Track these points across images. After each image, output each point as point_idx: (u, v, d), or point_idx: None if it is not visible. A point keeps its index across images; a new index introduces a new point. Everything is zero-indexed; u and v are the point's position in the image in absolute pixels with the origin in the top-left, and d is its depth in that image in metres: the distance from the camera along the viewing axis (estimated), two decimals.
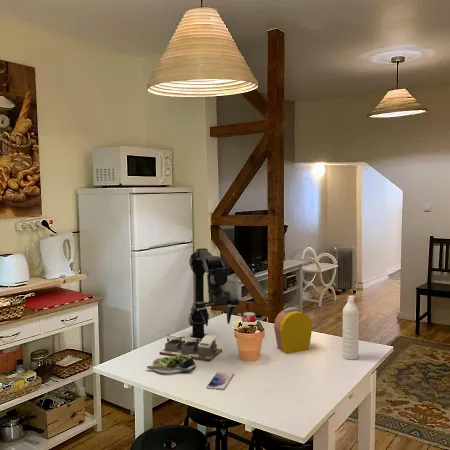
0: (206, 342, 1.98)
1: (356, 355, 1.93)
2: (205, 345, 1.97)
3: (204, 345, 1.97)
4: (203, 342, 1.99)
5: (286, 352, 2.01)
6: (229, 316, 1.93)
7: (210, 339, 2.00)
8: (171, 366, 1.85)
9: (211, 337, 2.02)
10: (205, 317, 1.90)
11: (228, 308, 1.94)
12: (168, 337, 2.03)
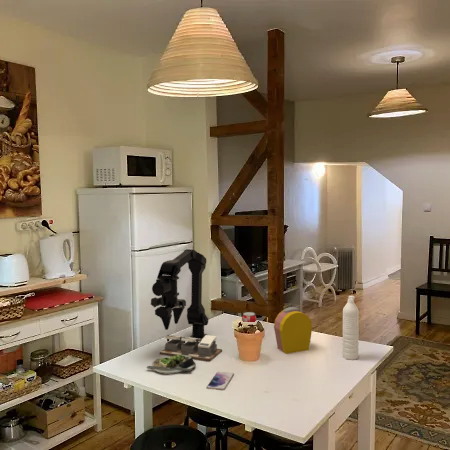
0: (206, 342, 1.98)
1: (356, 355, 1.93)
2: (205, 345, 1.97)
3: (204, 345, 1.97)
4: (203, 342, 1.99)
5: (286, 352, 2.01)
6: None
7: (210, 339, 2.00)
8: (171, 366, 1.85)
9: (211, 337, 2.02)
10: None
11: None
12: (168, 337, 2.03)
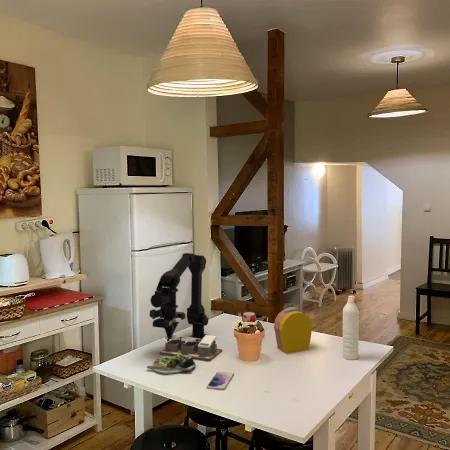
0: (206, 342, 1.98)
1: (356, 355, 1.93)
2: (205, 345, 1.97)
3: (204, 345, 1.97)
4: (203, 342, 1.99)
5: (286, 352, 2.01)
6: None
7: (210, 339, 2.00)
8: (171, 366, 1.85)
9: (211, 337, 2.02)
10: None
11: None
12: None
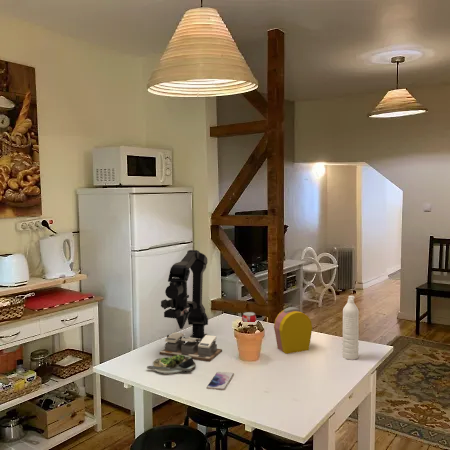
0: (206, 342, 1.98)
1: (356, 355, 1.93)
2: (205, 345, 1.97)
3: (204, 345, 1.97)
4: (203, 342, 1.99)
5: (286, 352, 2.01)
6: None
7: (210, 339, 2.00)
8: (171, 366, 1.85)
9: (211, 337, 2.02)
10: None
11: None
12: (168, 340, 2.03)
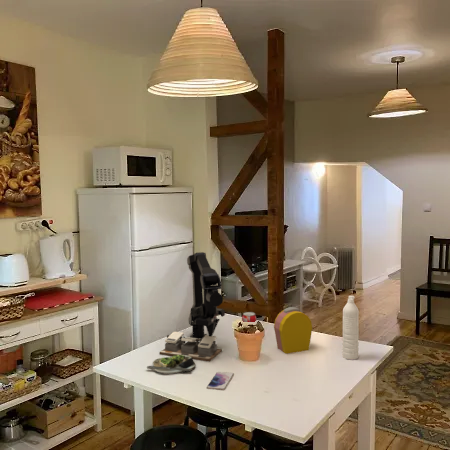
0: (206, 342, 1.98)
1: (356, 355, 1.93)
2: (205, 345, 1.97)
3: (204, 345, 1.97)
4: (203, 342, 1.99)
5: (286, 352, 2.01)
6: None
7: (210, 339, 2.00)
8: (171, 366, 1.85)
9: (211, 337, 2.02)
10: None
11: None
12: (168, 341, 2.03)
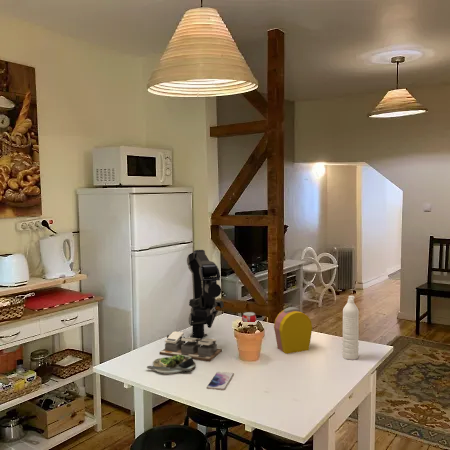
0: (207, 341, 1.98)
1: (356, 355, 1.93)
2: (205, 342, 1.97)
3: (204, 342, 1.97)
4: (203, 340, 1.99)
5: (286, 352, 2.01)
6: None
7: (210, 340, 2.01)
8: (171, 366, 1.85)
9: (211, 339, 2.02)
10: None
11: None
12: (168, 341, 2.03)
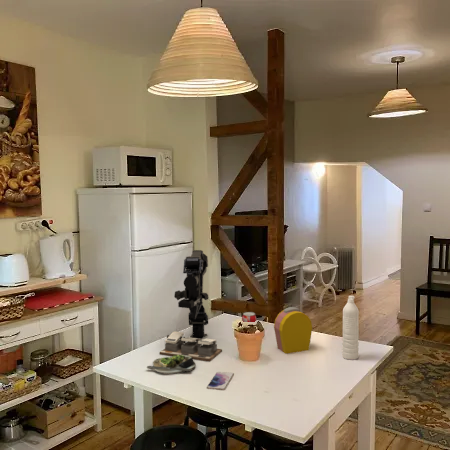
0: (207, 341, 1.98)
1: (356, 355, 1.93)
2: (205, 341, 1.97)
3: (204, 341, 1.97)
4: (203, 340, 1.99)
5: (286, 352, 2.01)
6: None
7: (210, 340, 2.01)
8: (171, 366, 1.85)
9: (211, 339, 2.02)
10: None
11: None
12: (168, 341, 2.03)
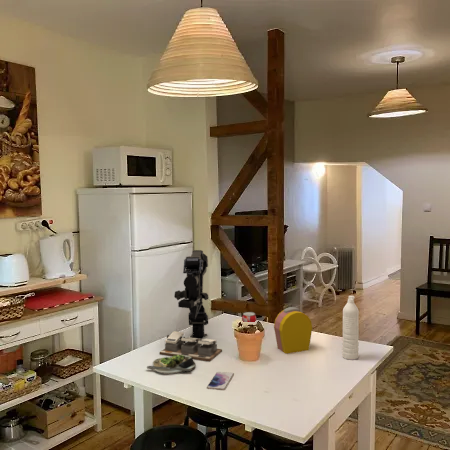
0: (207, 341, 1.98)
1: (356, 355, 1.93)
2: (205, 341, 1.97)
3: (204, 341, 1.97)
4: (203, 340, 1.99)
5: (286, 352, 2.01)
6: None
7: (210, 340, 2.01)
8: (171, 366, 1.85)
9: (211, 339, 2.02)
10: None
11: None
12: (168, 341, 2.03)
